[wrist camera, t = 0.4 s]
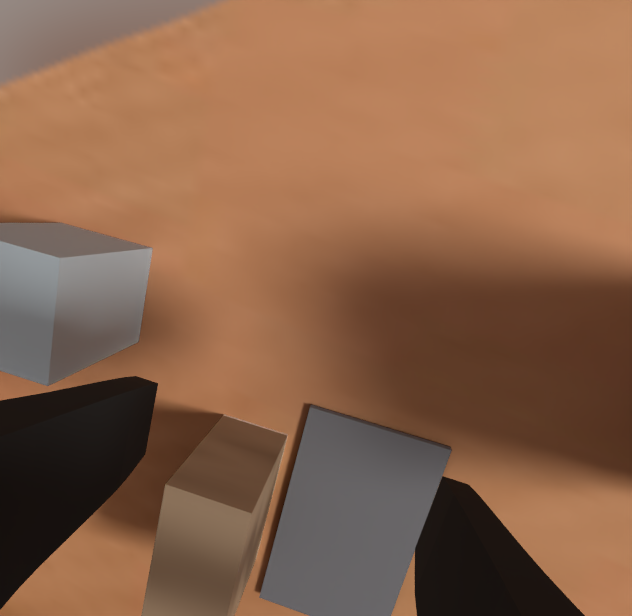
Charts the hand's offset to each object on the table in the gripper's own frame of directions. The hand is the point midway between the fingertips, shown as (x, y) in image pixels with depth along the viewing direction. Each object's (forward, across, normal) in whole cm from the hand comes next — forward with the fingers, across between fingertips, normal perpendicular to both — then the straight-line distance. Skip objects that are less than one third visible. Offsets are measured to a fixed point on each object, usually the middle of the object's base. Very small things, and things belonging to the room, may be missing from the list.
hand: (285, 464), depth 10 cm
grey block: (+10, +12, 0) cm, 16 cm away
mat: (+10, -3, +9) cm, 14 cm away
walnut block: (+10, +3, +9) cm, 14 cm away
